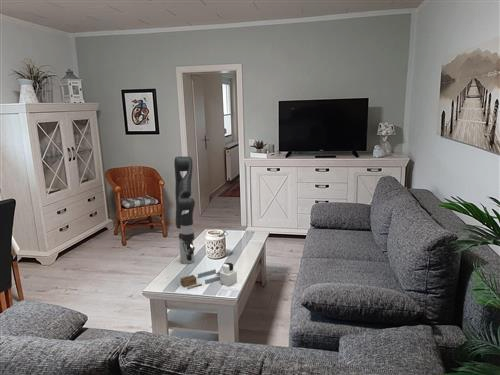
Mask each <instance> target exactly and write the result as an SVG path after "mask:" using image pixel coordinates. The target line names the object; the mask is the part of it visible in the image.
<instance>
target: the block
mask: <svg viewBox="0 0 500 375" xmlns="http://www.w3.org/2000/svg"><path fill="white" fill-rule="evenodd" d="M197 282H198V281H197V277H196V275H195V274H191V275H187V276H183V277H180V285H181V286H182V287H183V288H184V289H185V288H187V287H191V286H194V285H198V284H197Z"/></svg>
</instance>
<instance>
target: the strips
mask: <svg viewBox="0 0 500 375" xmlns="http://www.w3.org/2000/svg"><path fill="white" fill-rule="evenodd" d="M202 286H203V284H202V283H199V284H195V285H192V286H188V287H186V289H187V290H190V289H194V288H197V287H202Z"/></svg>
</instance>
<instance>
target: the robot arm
mask: <svg viewBox="0 0 500 375" xmlns="http://www.w3.org/2000/svg"><path fill="white" fill-rule="evenodd" d="M173 167H174V178H175V191H174V192H175V193H174V195H175V221H174V222H175V227H176V228H177V229H179V230H180V233H178V241H179V255H180V256H179V257H180V263H181V264H183V265H189V264H192V263H194V262H195V255H194V254H195V248H196V247H195V246H194V240H195V228H194V219H193V218H194V210H195V206H196V203H195V202H196V201H195V199H194V198H193V197H191V196H192V178H193V168H194V167H193V158H192V157H191V156H176V157H175V158H174V166H173ZM181 172H186V174H184V176H182V173H181ZM183 211H188V212H186V213H183Z"/></svg>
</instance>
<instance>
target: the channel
mask: <svg viewBox="0 0 500 375" xmlns="http://www.w3.org/2000/svg"><path fill="white" fill-rule="evenodd" d="M216 273H217V270H216V268H214V269H210V270H207V271H202V272H198V273H197V278H198V279H201V278H204V277H208V276H212V275H214V274H216ZM219 281H220V276H219V275H217V276H213V277H210V278H206V279H205V280H204V284H206V285H208V284H211V283H215V282H219Z"/></svg>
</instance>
